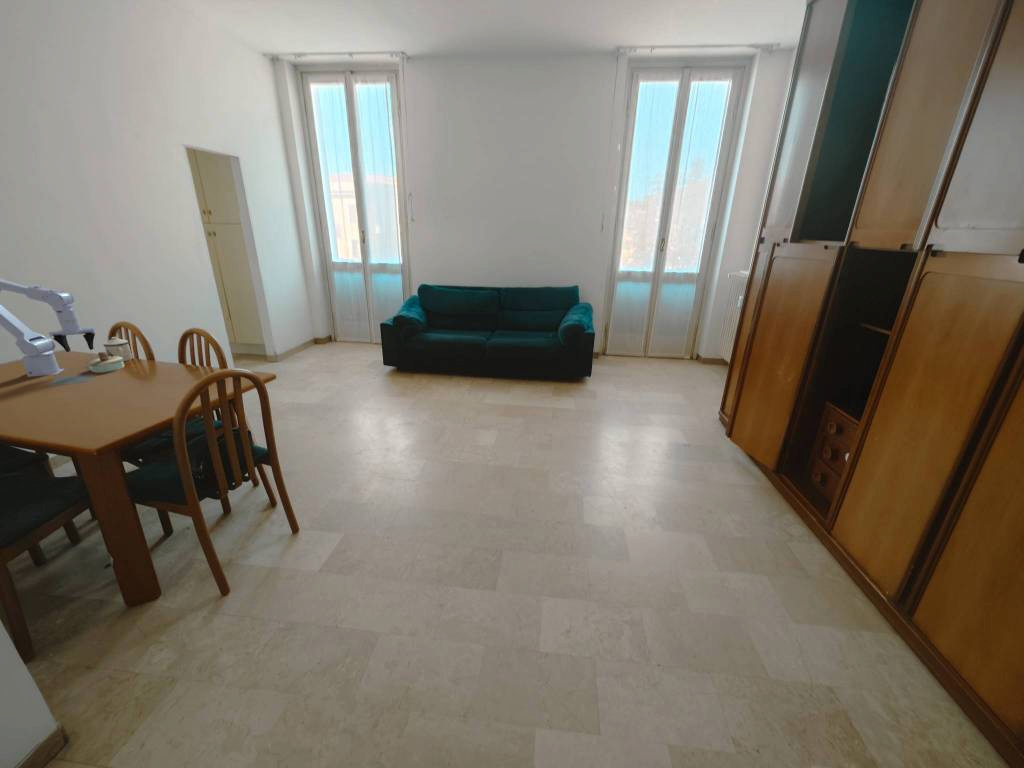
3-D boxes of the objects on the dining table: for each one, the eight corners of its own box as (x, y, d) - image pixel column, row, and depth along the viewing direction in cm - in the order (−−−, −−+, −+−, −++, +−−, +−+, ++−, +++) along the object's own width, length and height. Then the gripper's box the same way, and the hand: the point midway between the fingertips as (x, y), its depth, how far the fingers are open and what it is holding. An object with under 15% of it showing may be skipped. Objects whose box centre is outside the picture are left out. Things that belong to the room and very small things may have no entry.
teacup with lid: (107, 359, 200) (99, 337, 195) (131, 356, 206) (124, 334, 202) (112, 365, 193) (104, 341, 189) (137, 360, 199) (129, 338, 195)
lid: (81, 367, 177) (77, 357, 176) (94, 359, 188) (91, 350, 186) (116, 364, 182) (113, 355, 180) (127, 356, 192) (124, 348, 191)
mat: (46, 387, 165) (46, 386, 165) (60, 378, 175) (59, 377, 175) (86, 383, 170) (85, 382, 170) (97, 374, 180) (96, 373, 180)
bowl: (88, 374, 180) (84, 366, 178) (97, 367, 189) (94, 359, 187) (120, 371, 185) (117, 363, 183) (127, 364, 194) (125, 356, 192)
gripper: (40, 323, 168) (53, 354, 173) (87, 320, 174) (98, 350, 179) (48, 320, 174) (61, 350, 179) (93, 317, 180) (104, 346, 185)
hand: (80, 350), depth 179 cm, fingers open, 7 cm apart
